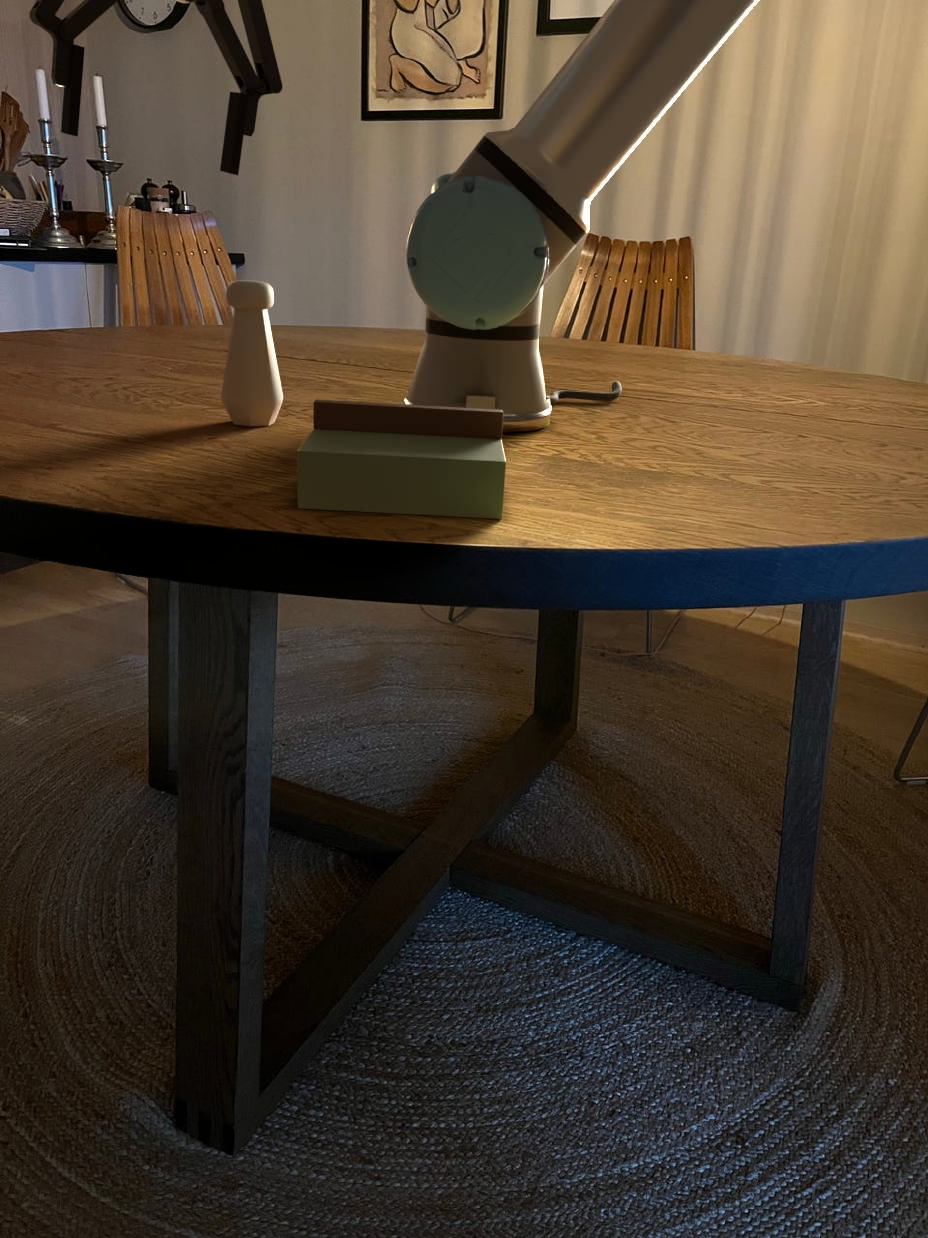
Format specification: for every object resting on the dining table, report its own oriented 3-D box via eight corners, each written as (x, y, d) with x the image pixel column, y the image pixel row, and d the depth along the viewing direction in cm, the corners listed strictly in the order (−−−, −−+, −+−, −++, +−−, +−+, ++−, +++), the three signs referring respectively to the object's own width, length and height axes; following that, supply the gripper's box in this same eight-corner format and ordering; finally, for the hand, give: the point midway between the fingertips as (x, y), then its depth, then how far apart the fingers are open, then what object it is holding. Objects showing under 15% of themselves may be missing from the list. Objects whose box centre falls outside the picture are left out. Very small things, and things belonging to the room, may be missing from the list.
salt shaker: (226, 415, 99) (222, 277, 94) (285, 418, 99) (284, 280, 95) (218, 426, 93) (213, 280, 88) (280, 429, 94) (278, 283, 89)
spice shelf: (315, 478, 76) (315, 399, 74) (497, 487, 77) (502, 409, 75) (297, 508, 68) (297, 420, 66) (502, 519, 68) (508, 432, 66)
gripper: (310, -75, 87) (272, 183, 95) (0, -201, 73) (-15, 113, 81) (346, -83, 82) (303, 191, 89) (19, -221, 68) (1, 118, 75)
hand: (152, 155), depth 85 cm, fingers open, 13 cm apart
